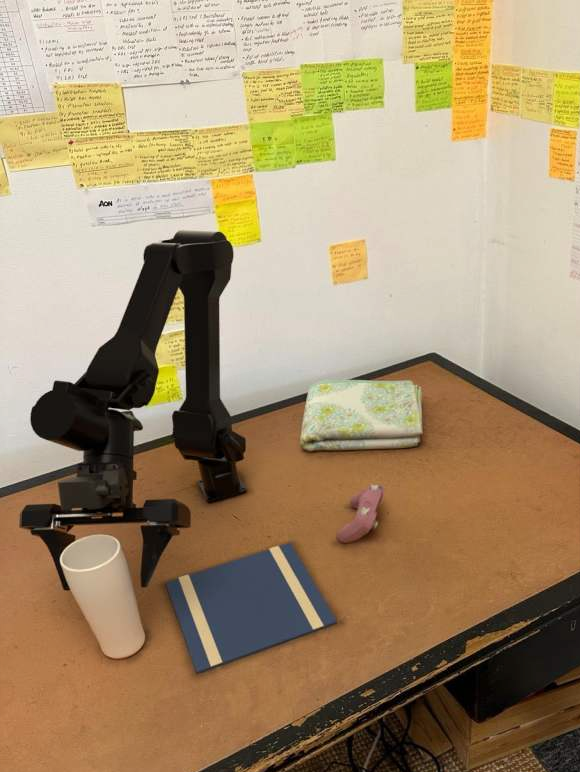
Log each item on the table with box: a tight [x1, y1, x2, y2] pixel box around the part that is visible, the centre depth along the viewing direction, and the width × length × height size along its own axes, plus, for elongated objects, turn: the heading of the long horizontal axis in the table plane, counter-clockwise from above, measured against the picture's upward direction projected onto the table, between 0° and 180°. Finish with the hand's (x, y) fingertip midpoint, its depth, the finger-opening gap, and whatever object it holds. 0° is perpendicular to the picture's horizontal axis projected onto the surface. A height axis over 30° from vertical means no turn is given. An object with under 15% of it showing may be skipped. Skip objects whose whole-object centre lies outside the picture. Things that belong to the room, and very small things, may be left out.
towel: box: [299, 379, 423, 452], centre depth 132 cm, size 18×21×5 cm
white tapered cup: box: [60, 533, 146, 660], centre depth 88 cm, size 7×7×15 cm
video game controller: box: [336, 483, 386, 544], centre depth 108 cm, size 10×5×7 cm, turn 168°
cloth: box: [165, 542, 338, 675], centre depth 98 cm, size 18×18×1 cm
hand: (105, 589), depth 88 cm, fingers open, 9 cm apart
